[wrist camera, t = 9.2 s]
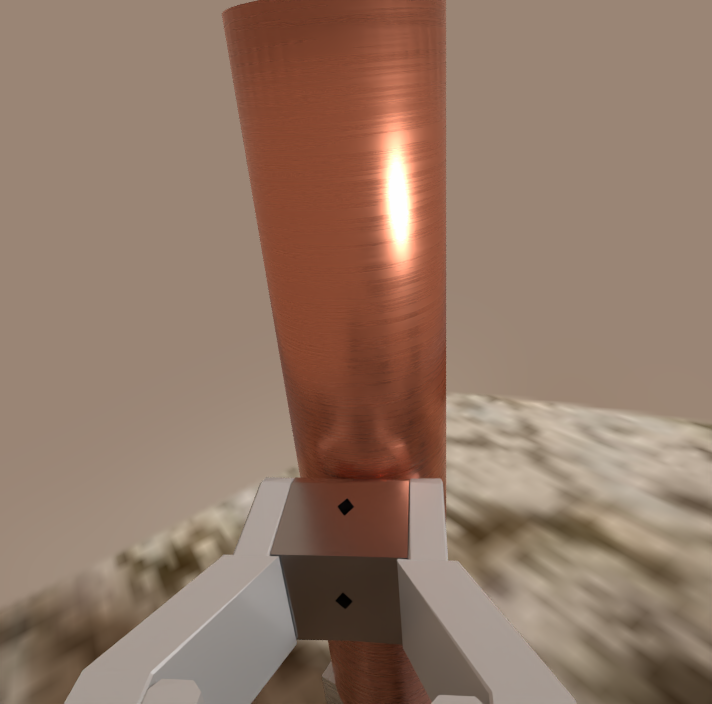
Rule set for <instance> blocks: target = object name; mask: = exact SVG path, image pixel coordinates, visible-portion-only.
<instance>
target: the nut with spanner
mask: <svg viewBox="0 0 712 704" xmlns="http://www.w3.org/2000/svg"><path fill="white" fill-rule="evenodd" d="M222 18H223V24H224V29H225V35H226V41H227V47H228V53H229V59H230V65H231V70H232V77H233V83H234V89H235V94H236V100H237V106H238V112H239V118H240V124H241V130H242V136H243V142H244V147H245V153H246V159H247V165H248V171H249V177H250V183H251V189H252V195H253V201H254V206H255V212H256V218H257V224H258V230H259V236H260V242H261V248H262V254H263V259H264V266H265V271H266V277H267V283H268V289H269V295H270V300H271V307H272V313H273V319H274V324H275V331H276V336H277V342H278V348H279V354H280V360H281V366H282V372H283V377H284V384H285V389H286V395H287V401H288V407H289V413H290V419H291V425H292V431H293V436H294V443H295V449H296V454H297V460H298V466H299V472H300V478H327V479H422V478H441V480H442V482H443V492H444V507H445V522H446V0H258V1H254V2H249V3H245V4H241V5H237V6H234V7H231V8H229V9H227V10H225V11H224V12H223V13H222ZM328 643H329V649H330V655H331V662H330V664H329V665H328V667H327V668H326V670H325V671H324V673H323V675H322V681H323V686H324V692H325V697H326V702H327V704H431V703H432V702H431V700H430V698H429V696H428V694H427V692H426V690H425V689H424V687H423V685H422V683H421V681H420V679H419V677H418V675H417V673H416V672H415V670H414V668H413V666H412V664H411V662H410V660H409V658H408V656H407V655H406V653H405V651H404V649H403V645H399V644H386V643H373V642H359V641H336V640H328Z"/></svg>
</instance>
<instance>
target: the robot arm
mask: <svg viewBox="0 0 712 704" xmlns="http://www.w3.org/2000/svg"><path fill="white" fill-rule="evenodd" d="M296 640H336V641H359V642H373V643H386V644H399V645H403V649H404V651H405V653H406V655H407V656H408V658H409V660H410V662H411V664H412V666H413V668H414V670H415V672H416V673H417V675H418V677H419V679H420V681H421V683H422V685H423V687H424V689H425V690H426V692H427V694H428V696H429V698H430V700H431V702H432V703H431V704H577V703H576V700H575V699H574V697H573V696H572V695H571V694H570V693H569V691H568V690H567V689H566V688H565V687H564V686H563V684H562V683H561V682H560V681H559V680H558V678H557V677H556V676H555V675H554V674H553V673H552V671H551V670H550V669H549V668H548V667H547V665H546V664H545V663H544V662H543V661H542V660H541V658H540V657H539V656H538V655H537V654H536V652H535V651H534V650H533V649H532V648H531V647H530V645H529V644H528V643H527V642H526V641H525V639H524V638H523V637H522V636H521V635H520V634H519V632H518V631H517V630H516V629H515V628H514V626H513V625H512V624H511V623H510V622H509V620H508V619H507V618H506V617H505V616H504V615H503V613H502V612H501V611H500V610H499V609H498V607H497V606H496V605H495V604H494V603H493V602H492V600H491V599H490V598H489V597H488V596H487V594H486V593H485V592H484V591H483V590H482V589H481V587H480V586H479V585H478V584H477V583H476V581H475V580H474V579H473V578H472V577H471V576H470V574H469V573H468V572H467V571H466V570H465V568H464V567H463V566H462V565H461V564H460V563H459V561H448V551H447V536H446V522H445V507H444V492H443V482H442V480H441V478H422V479H327V478H275V477H266V478H265V479H264V480H263V481H262V482H261V483H260V485H259V488H258V491H257V493H256V496H255V498H254V501H253V504H252V506H251V509H250V511H249V514H248V517H247V519H246V522H245V524H244V527H243V530H242V532H241V535H240V538H239V540H238V543H237V545H236V548H235V551H234V553H233V555H223V556H222V557H220V558H219V559H218V560H217V561H216V562H214V563H213V564H212V565H211V566H209V567H208V568H207V569H206V570H205V571H203V572H202V573H201V574H200V575H198V576H197V577H196V578H195V579H194V580H192V581H191V582H190V583H189V584H187V585H186V586H185V587H184V588H183V589H181V590H180V591H179V592H178V593H176V594H175V595H174V596H173V597H172V598H170V599H169V600H168V601H167V602H165V603H164V604H163V605H162V606H161V607H159V608H158V609H157V610H156V611H154V612H153V613H152V614H151V615H150V616H148V617H147V618H146V619H145V620H143V621H142V622H141V623H140V624H139V625H137V626H136V627H135V628H134V629H132V630H131V631H130V632H129V633H128V634H126V635H125V636H124V637H123V638H121V639H120V640H119V641H118V642H117V643H115V644H114V645H113V646H112V647H110V648H109V649H108V650H107V651H106V652H104V653H103V654H102V655H101V656H99V657H98V658H97V659H96V660H95V661H93V662H92V663H91V664H90V665H88V666H87V667H86V668H85V669H84V670H83V671H82V672H81V674H80V676H79V678H78V679H77V681H76V683H75V685H74V687H73V688H72V690H71V692H70V694H69V695H68V697H67V699H66V701H65V703H64V704H251V703H252V701H253V700H254V699H255V698H256V696H257V695H258V694H259V692H260V691H261V690H262V688H263V687H264V686H265V685H266V683H267V682H268V681H269V679H270V678H271V677H272V675H273V674H274V673H275V671H276V670H277V669H278V668H279V666H280V665H281V664H282V662H283V661H284V660H285V658H286V657H287V656H288V655H289V653H290V652H291V651H292V649H293V648H294V647H295V645H296V644H297V641H296Z"/></svg>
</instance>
